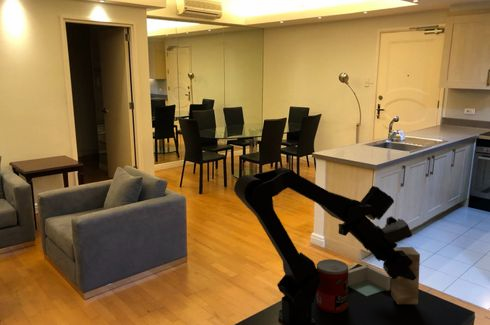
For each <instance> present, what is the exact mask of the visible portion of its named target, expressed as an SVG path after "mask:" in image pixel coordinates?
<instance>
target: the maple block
mask: <svg viewBox="0 0 490 325" xmlns="http://www.w3.org/2000/svg"><path fill="white" fill-rule="evenodd" d="M393 249H394V250H395V251H397V250H402V251H403V252H404V253H406V254H407V255H408V256H409V258H410V259H411V260H412V261H413V262H412V264H411V265H410V266H409V267H410V269H411V270H412V272H413V273H414V275H415V276H416V279H415V280H414V281H413V280H409V279H406V278H403V277H400V276H398V277H397V278H396V279H392V278H391V282H390V291H391V292H390V294H391V295H390V296H392V298H393V300H394V301H395V302H396V305H418V304H419V289H420V285H419V284H420V280H419V279H420V264H421V262H420V259H421V254H420V253H419V252H418V251H417V250H416V249H415V248H414V247H413V246H396V247H395V248H393Z"/></svg>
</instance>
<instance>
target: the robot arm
mask: <svg viewBox="0 0 490 325" xmlns="http://www.w3.org/2000/svg"><path fill="white" fill-rule="evenodd" d="M286 189H289V190H292V191H294V192H295V193H297V194H299V195H301V196H303V197H304V198H307V199H308V200H310V201H312V202H315V203H316V204H317V205H318V206H320V207H321V208H322V210H324V211H325V212H326V213H327V214H328V215H329V216H331V217H333V218H335V219H336V220H339V221H341V222H343V223H338V224H337V225H338V231H337V232H338V234H339V235H341V236H347V235H348V234H349V233H350V235H351V236H353V237H354V238H355V239H356V240H357V241H358V242H359V243H360V244H361V245H362V247H363V248H364V249H365V250H366V251H369V252H370V253H371V254H372V255H373V256H374V258H375V259H376V260H377V261H378V262H380V261H382V262H383V263H382V265H383V266H382V269H383V270H384V271H385V274H387V275H389V276H390V279H391V280H392V279H396V278H397V277H398V276H400V277H403V278H406V279H409V280H413V281H414V280H415V279H416V276H415V275H414V273H413V272H412V270H411V269H410V267H409V266H410V265H411V264H412V262H413V261H412V260H411V259H410V258H409V256H408V255H407V254H406V253H404V252H403V251H402V250H397V251H395V250H394V249H393V248H395V247H398V242H400V241H403V240H405V239H408V238H411V237H412V236H413V233H412V231H411V229H410V226H409V224H408V223H407V222H406V221H405V220H404V219H400V218H397V219H396V217H394V216H392V215H391V216H388V217H387V218H386V221H385V224H384V226H383V227H382V228H381V227H380V226H379V225H376V224H375V223H374V222H373V221H375V220H378V221H380V220H381V219H382V218H383V216H384V215H385V214H386V213H387V211H388V210H389V209H390V208H391V206H392V205H393V204H394V203H395V200H394V198H393V197H392V196H391V195H389V194H387V193H386V192H384V191H383V190H381V189H380V188H379V187H378V186H375V185H372V186H371V187H370V189H369V190H368V192H367V193H366V194H365V195H364V197H363V198H362V199H361V200H360V201H359V200H356V199H353V198H350V197H346V196H344V195H341V194H338V193H334V192H331V191H328V190H327V189H325V188H323V187H321V186H319V185H318V184H316V183H314V182H312V181H310V180H309V179H307V178H305V177H303V176H302V175H300V174H298V173H296V172H295V171H294V170H293V169H290V168H287V167H284V166H280V167H278V168H275V169H272V170H268V171H267V170H266V171H263V172H262V171H261V172H259V173H255V174H253V175H250V174H244V175H242V176H240V177H238V179H237V180H236V181H235V184H234V187H233V190H234V193H235V195H236V196H237V198H238V199H239V200H240V201H241V202H242V204H243V205H245V206H246V208H247V209H248V210H249V211H251V212H252V214H254V216H255V217H256V218H257V221H258V222H259V224H260V225H261V227H262V229H263V231H264V232H265V234H266V235H267V237H268V239H269V240H270V242H271V243H272V245H273V247H274V249H275V251H276V253H277V254H278V256H279V258H280V259H281V260H282V267H283V272H284V274H283V275H284V276H283V277H282V278H280V280H279V282H278V283H277V288H278V290H279V292H280V293H281V294H283V295H284V296H282V297H281V314H280V315H278V320H280V321H281V322H282V323H283V324H285V325H312V323H313V324H315V323H316V322H315V319H314V318H312V316H313V312H312V311H313V308H312V306H313V304H314V303H315V302H314V301H315V299H316V297H317V289H318V287H319V284H320V283H321V280H320V277H319V275H320V274H321V273H320V272H318V270H317V265H316V264H315V262H314V260H313V259H311V258H310V257H308V256H307V255H305V253H303V252H301V251H300V252H299V251H298V249H297V246H295V244H294V242H293V241H292V239H291V237H290V235H289V234H288V231H287V230H286V228H285V227H284V224H283V223H282V222H281V219H280V218H279V216H278V214H277V213H276V211H275V209H274V207H275V206H274V200H273V197H276V196H278V195H279V194H281V193H282V192H283V191H284V190H286ZM371 220H372V221H371Z"/></svg>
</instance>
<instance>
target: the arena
mask: <svg viewBox="0 0 490 325" xmlns="http://www.w3.org/2000/svg"><path fill="white" fill-rule="evenodd" d="M348 288H351V289H352V290H354V291H356V292H358V293H359V294H361V295H363V296H365V297H367V298H368V297H370V296H372V295H376V294H378V293H381V292H384V291H391V277H390V276H389V275H388V274H387V273H386V272H382V271H381V270H378V269H377V268H375V267H372V266H371V265H368V264H364V265H361V266H359V267H355V268H351V269H348Z"/></svg>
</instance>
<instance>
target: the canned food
mask: <svg viewBox="0 0 490 325" xmlns="http://www.w3.org/2000/svg"><path fill="white" fill-rule="evenodd" d="M316 269H317V270H318V272H320V273H321V274H320V275H319V277H320V280H321V283H320V284H319V287H318V289H317V292H316V302H317V305H318V307H319V308H320V309H321V310H323V311H324V312H327V313H332V314H335V313H336V314H339V313H342V312H344V311H346V310H347V308H348V307H349V286H348V271H349V266H348V264H347V263H345V262H344V261H342V260H338V259H331V258H329V259H322V260H319V261H318V262H317V263H316Z"/></svg>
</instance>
